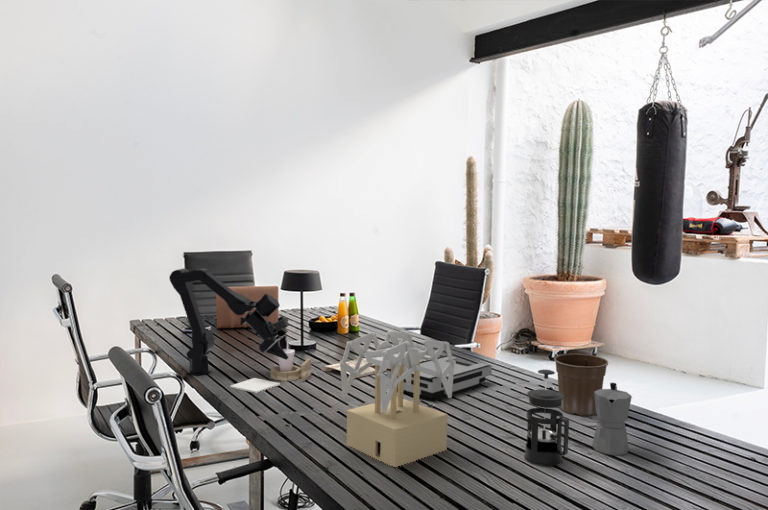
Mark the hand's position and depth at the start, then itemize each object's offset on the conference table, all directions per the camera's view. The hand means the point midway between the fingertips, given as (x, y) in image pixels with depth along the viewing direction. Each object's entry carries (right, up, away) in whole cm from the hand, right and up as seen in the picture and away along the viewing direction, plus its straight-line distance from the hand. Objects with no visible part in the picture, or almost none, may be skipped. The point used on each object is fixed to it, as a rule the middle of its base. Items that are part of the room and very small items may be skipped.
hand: (289, 356), depth 241 cm
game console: (+54, -10, -9) cm, 55 cm away
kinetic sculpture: (+37, -14, -65) cm, 77 cm away
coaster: (-10, -9, -11) cm, 18 cm away
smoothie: (-1, -8, +1) cm, 8 cm away
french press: (+75, -15, -72) cm, 105 cm away
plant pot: (+96, -12, -32) cm, 102 cm away
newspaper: (+29, -7, +18) cm, 35 cm away
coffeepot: (+95, -15, -64) cm, 115 cm away
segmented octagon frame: (0, -8, +1) cm, 8 cm away
